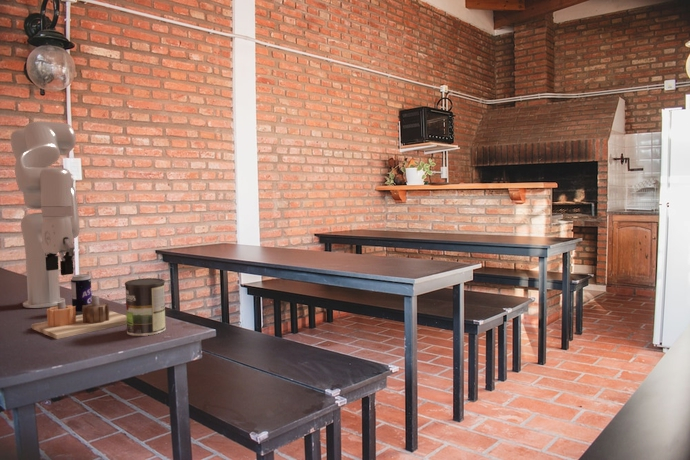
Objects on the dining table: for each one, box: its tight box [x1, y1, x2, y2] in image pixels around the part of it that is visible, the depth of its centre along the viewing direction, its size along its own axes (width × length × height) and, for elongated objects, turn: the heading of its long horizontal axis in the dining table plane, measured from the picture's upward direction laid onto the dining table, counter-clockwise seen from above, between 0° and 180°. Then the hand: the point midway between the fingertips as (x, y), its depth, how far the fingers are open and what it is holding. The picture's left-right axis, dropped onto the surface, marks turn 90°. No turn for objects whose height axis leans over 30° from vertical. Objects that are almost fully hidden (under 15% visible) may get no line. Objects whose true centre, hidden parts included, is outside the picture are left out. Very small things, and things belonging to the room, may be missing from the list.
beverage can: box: [70, 273, 93, 315], centre depth 165 cm, size 6×6×12 cm
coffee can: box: [124, 277, 167, 337], centre depth 142 cm, size 10×10×14 cm
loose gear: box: [46, 304, 77, 327], centre depth 147 cm, size 7×7×4 cm
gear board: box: [30, 295, 127, 340], centre depth 149 cm, size 17×22×8 cm
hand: (59, 272), depth 146 cm, fingers open, 9 cm apart
